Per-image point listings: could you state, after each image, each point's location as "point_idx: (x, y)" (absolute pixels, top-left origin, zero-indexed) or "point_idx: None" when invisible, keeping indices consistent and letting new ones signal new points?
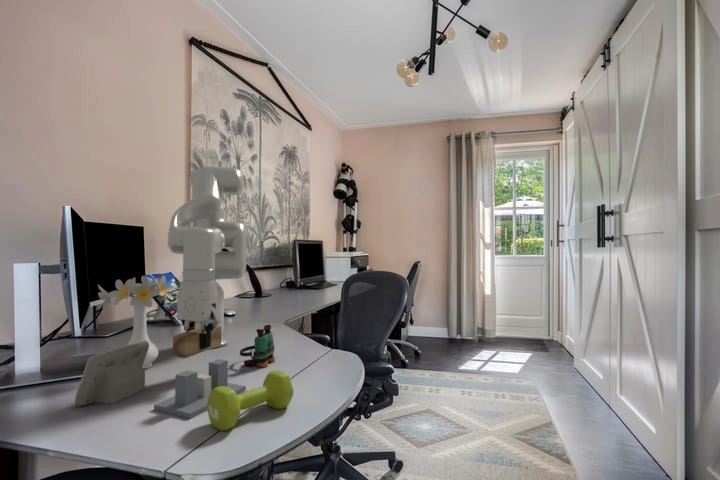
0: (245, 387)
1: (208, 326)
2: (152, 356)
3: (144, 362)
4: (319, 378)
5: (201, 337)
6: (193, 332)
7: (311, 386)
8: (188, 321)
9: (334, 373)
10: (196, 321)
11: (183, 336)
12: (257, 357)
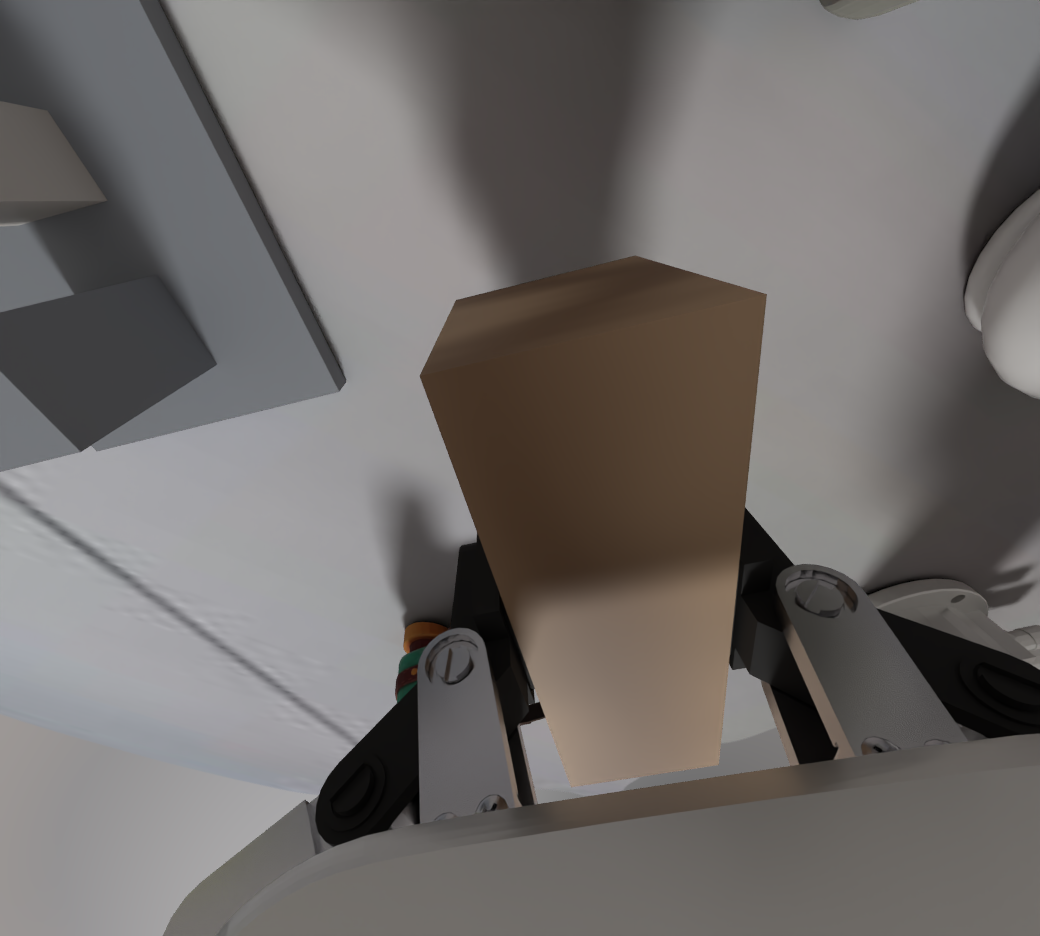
0: (99, 446)
1: (373, 775)
2: (1012, 313)
3: (1020, 245)
4: (123, 673)
5: (474, 579)
6: (616, 590)
7: (27, 623)
8: (849, 740)
9: (155, 715)
10: (470, 836)
11: (534, 401)
12: (417, 655)
